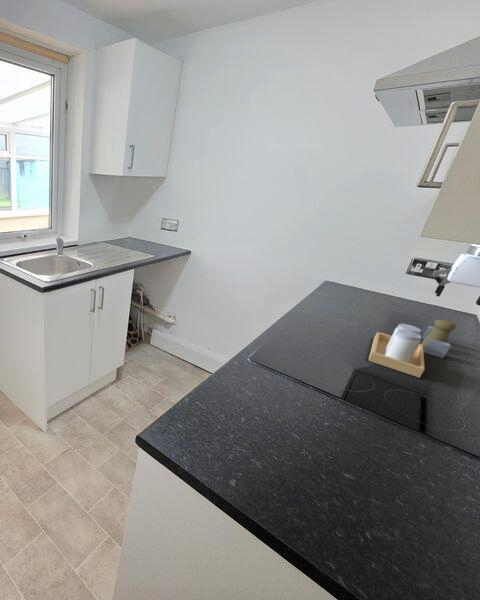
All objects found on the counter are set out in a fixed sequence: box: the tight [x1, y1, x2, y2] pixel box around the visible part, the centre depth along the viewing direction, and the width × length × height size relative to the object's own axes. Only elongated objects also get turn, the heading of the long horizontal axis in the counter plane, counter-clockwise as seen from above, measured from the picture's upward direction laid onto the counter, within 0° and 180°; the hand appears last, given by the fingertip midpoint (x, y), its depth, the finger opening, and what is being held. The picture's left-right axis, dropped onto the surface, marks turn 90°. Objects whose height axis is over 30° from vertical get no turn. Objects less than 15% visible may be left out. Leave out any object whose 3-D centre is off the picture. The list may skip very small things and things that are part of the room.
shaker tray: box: [367, 331, 426, 378], centre depth 109 cm, size 13×23×3 cm, turn 135°
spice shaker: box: [384, 323, 422, 353], centre depth 107 cm, size 6×6×11 cm
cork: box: [420, 318, 456, 348], centre depth 115 cm, size 6×6×11 cm
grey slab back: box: [422, 325, 434, 340], centre depth 122 cm, size 5×3×5 cm, turn 45°
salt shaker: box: [384, 330, 423, 363], centre depth 103 cm, size 6×6×11 cm
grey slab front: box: [423, 338, 451, 359], centre depth 112 cm, size 5×3×5 cm, turn 45°
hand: (457, 299), depth 110 cm, fingers open, 9 cm apart
